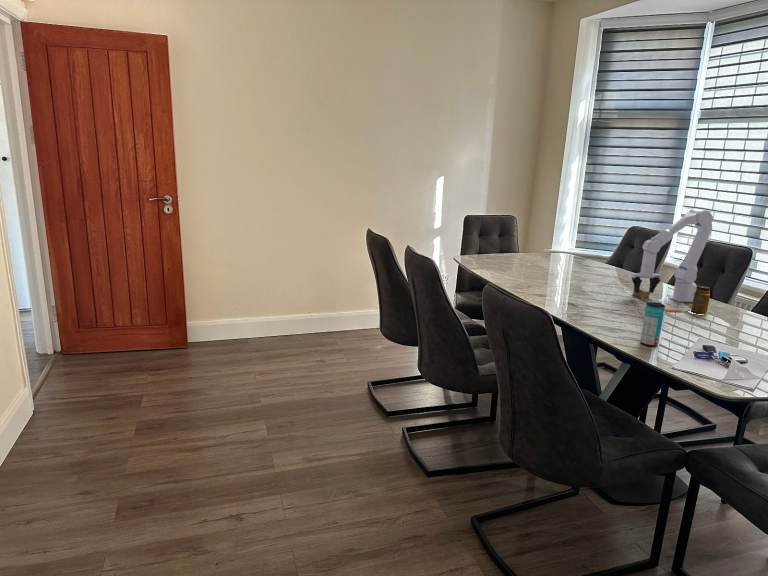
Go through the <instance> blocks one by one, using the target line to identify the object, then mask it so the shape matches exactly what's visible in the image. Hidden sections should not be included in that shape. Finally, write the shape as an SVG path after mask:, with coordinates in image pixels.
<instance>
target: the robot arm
mask: <svg viewBox="0 0 768 576" xmlns="http://www.w3.org/2000/svg"><path fill="white" fill-rule="evenodd" d="M713 219H714V216H713V214H712V212H711V211H709V210H707V209H705V210H704V209H699V208H692V209H690V210H689V211H688V212H686V213H685V214H684V215H683V216H682V217H681V218H680V219H678V221H677V222H675V223H674V224H673V225H672V226H670V227H669V228H668V229H660V230H659V233H657V234H656V235H655V236H652V237H650V239H647V240H645V241H644V242H643V244H642V245H641V248H642V250H643V254H642V260H641V266H640V272H637V273H636V272H635V273H631V281H632V283H633V290H634V289H635V292H636V293H639V289H640V288H641V284H642V281H643V280H642V279H649V288H648V289H649V290H648V292H650V294H653V293H654V292H655V290H656V287H657V286H658V285H659V283H660V282H661V279H662V276H663V275H662V274H660V273H654V272H655V267H656V262H657V261H656V260H657V253H658V252H660V251H661V248H662V247H663V246H664V245H666V244H667V243H668V242H670V241H672V240H673V237H674V235H675V234H676V233H678V232H679V231H680V232H681V230H682V229H685V228H686V227H687V226H688V225H689V226H690V225H694V226H695V228H696V229H697V230H696V231H697V232H696V233H695V236H694V238H693V241H692V243H691V245H690V247H689V250H688V251H687V254H686V256H685V259H684V260H683V261H682V262H681V263H680V264H679V265H678V267H677V268H675V270H674V271H673V276H674V278H675V282H674V288H673V292H672V293H673V294H672V296H668V299H671V300H673V301H676V302H678V303H693V298H694V293H695V291H696V289H697V286H698V285H697V284H696V283H695V282H696V279H697V273H698V271H699V270H698V266H697V265H698V262H699V259H700V257H701V255H702V254H703V251H704V249H705V247H706V244H707V242H708V240H709V238H710V236H711V234H712V231H713Z"/></svg>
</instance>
